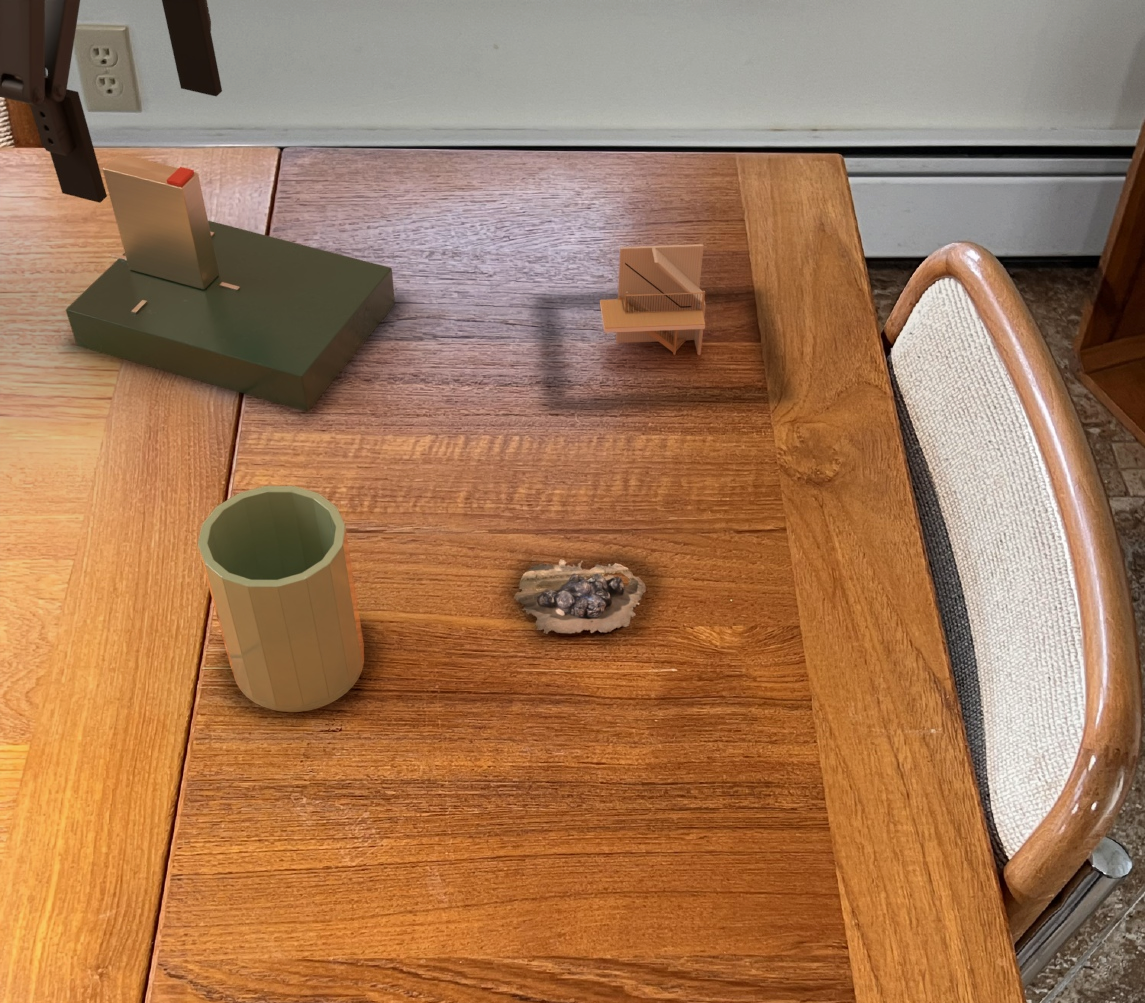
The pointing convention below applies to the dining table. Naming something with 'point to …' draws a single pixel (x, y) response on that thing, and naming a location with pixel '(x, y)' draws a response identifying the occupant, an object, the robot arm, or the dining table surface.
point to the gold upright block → (162, 220)
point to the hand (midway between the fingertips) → (145, 140)
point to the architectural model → (658, 296)
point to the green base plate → (242, 317)
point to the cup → (284, 596)
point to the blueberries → (579, 597)
